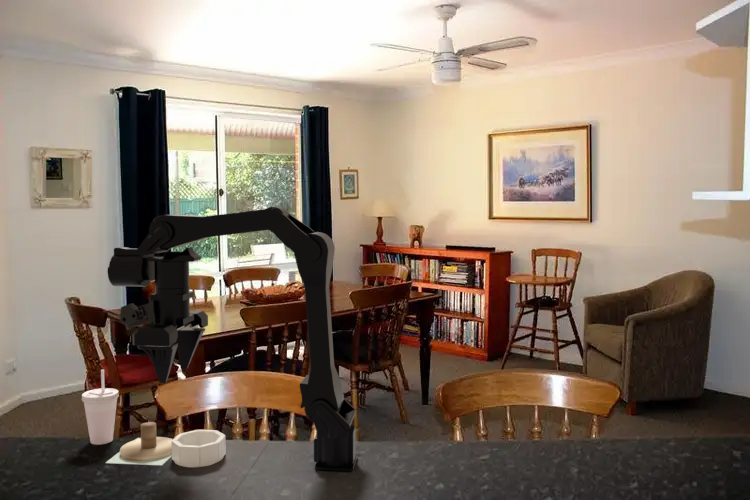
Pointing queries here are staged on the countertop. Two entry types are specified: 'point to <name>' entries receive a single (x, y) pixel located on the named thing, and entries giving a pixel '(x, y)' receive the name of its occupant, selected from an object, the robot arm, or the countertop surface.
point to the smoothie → (100, 412)
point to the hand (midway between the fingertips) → (173, 375)
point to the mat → (119, 460)
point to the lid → (147, 445)
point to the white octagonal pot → (198, 448)
